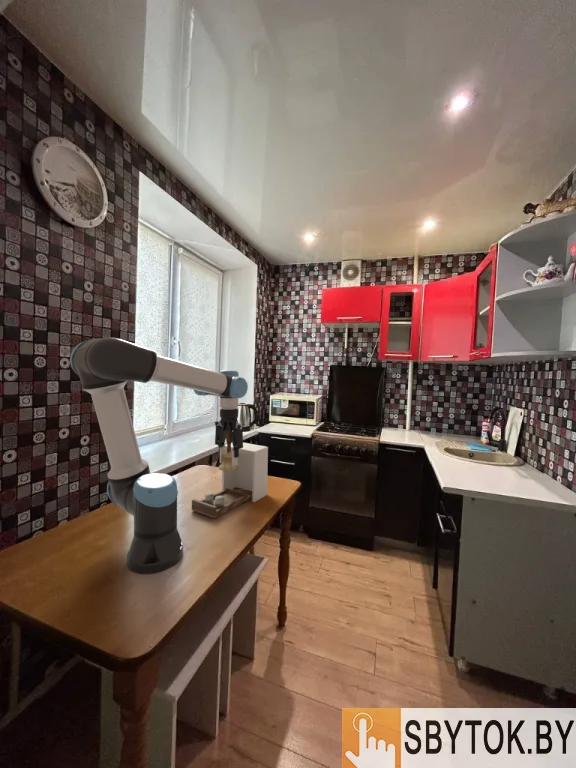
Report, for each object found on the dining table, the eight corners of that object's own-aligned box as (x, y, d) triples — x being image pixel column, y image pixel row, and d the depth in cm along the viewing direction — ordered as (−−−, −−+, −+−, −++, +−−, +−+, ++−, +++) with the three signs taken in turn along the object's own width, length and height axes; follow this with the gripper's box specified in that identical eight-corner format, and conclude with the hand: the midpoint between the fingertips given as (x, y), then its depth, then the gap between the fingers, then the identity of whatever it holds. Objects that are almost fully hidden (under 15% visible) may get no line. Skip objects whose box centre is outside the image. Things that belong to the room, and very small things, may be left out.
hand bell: (242, 467, 130) (243, 429, 130) (227, 472, 124) (228, 432, 123) (229, 463, 135) (229, 427, 135) (214, 468, 129) (214, 429, 128)
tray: (214, 518, 115) (214, 505, 115) (191, 510, 121) (191, 497, 121) (248, 499, 132) (248, 487, 132) (226, 493, 139) (227, 482, 138)
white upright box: (220, 521, 114) (221, 463, 113) (186, 509, 123) (187, 455, 122) (267, 494, 139) (267, 446, 138) (235, 486, 148) (236, 441, 147)
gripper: (253, 409, 127) (252, 465, 128) (218, 405, 136) (218, 457, 138) (241, 411, 120) (240, 470, 121) (205, 407, 130) (205, 461, 131)
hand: (228, 463), depth 130 cm, fingers closed on hand bell, 6 cm apart
